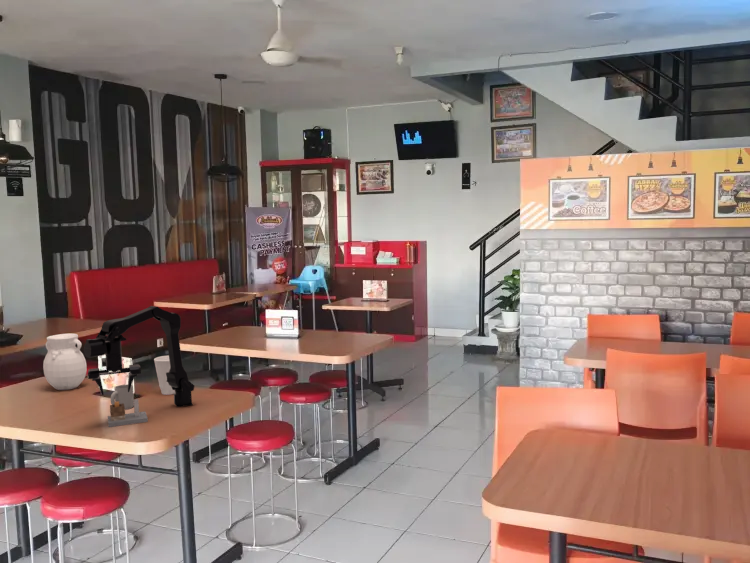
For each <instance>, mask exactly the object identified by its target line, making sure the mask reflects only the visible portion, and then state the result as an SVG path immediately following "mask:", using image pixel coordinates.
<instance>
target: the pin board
mask: <svg viewBox="0 0 750 563" xmlns="http://www.w3.org/2000/svg"><path fill="white" fill-rule="evenodd" d="M139 403H140V402H139V398H134V407H133V410H134V412H129V413H125V419H123V420H116V421H111V415H108V416H107V424H108V425H107V426H108V428H110V427H111V428H112V427H119V426H126V425H134V424H139V423H140V424H142V423H148V420H149V419H148V416H147V412H146V411H140V406H139V405H140V404H139ZM115 407H119V401H116V402H115Z"/></svg>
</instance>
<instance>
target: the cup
mask: <svg viewBox="0 0 750 563" xmlns="http://www.w3.org/2000/svg"><path fill="white" fill-rule="evenodd" d="M134 399H135V397H134V385H133V384H131V388H130V391H129V392H128V384H121V385H117V386H114V391H113V392H112V393H111V395H110V405H115V402H116V401H119V404H122V403H124V406H125V411H126V410H130V409H132V408H133V409H134Z"/></svg>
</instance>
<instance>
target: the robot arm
mask: <svg viewBox="0 0 750 563" xmlns="http://www.w3.org/2000/svg"><path fill="white" fill-rule="evenodd" d="M152 318H153V319H155V320H157V321H159V324H160V326H161V329H162V331H163V332H164V334H165V335H166V343H167V350H168V356H169V360H170V371H169V372H167V373H166V376H167V382H168V383H169V385H170V386H171V387H172V389H173V390H175V394H173V404H174V405H175V407H176V408H181V407H188V406H189V407H190V406H193V405H194V404H193V402H192V401H193V400H192V398H193V397H192V392H193V391H194V390H195V385H194V383H193V382H191V381H189V376H188V373H187V371H186V370H185V368H184V367H183V360H182V351H181V344H180V337H179V335H180V334H179V332H180V329H181V328H182V327H181V326H182V324H181V323H182V319H181V316H180V315H179V314H178V313H176V312H171V311H169V310H168V311H167V310H164V309H162V308H161V307H159V306H157V305H155V306H154V305H150V306H148V307H147V308H144V309H142V310H139V311H137V312H134V313H132V314H130V315H127V316H124V317H121V318H114V319H109V320H106V321H104V322H103V323H102V326H101V329H100V330H99V333H98V334H97V335H96V336H95V337H96V338H93V339H91V338H87V339H85V343H84V347H83V355H84V357H86V358H87V359H90V358H94V357H95V358H96V357H101V356H104V355H105V357H102V358H101V367H102V368H103V367H104V368H105V369H100V368H99V367H98V368H89V369H88V370H87V377H88V380H91V381H93V382H95V383H96V385H97V387H98V389H99V390H100V393H101V395H102V396H104V389H103V383H102V379H101V376H106V375H107V376H108V375H114V374H125V373H128V378H127V385H128V392H129V391H130V388H131V385H133V382H134V379H135V377H138V375H139V374H142V368H141V365H140V364H139V363H136V364H129V365H128V367H123V357H122V356H123V355H122V342H123V341H125V342H126V341H127V338H125V336H124V335H123V334H124V333H126V331H128V330H129V329H130V328H131V327H134V326H137V325H140V324H141V323H143V322H146V321H149V320H151V319H152Z"/></svg>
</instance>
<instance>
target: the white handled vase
mask: <svg viewBox="0 0 750 563" xmlns="http://www.w3.org/2000/svg"><path fill="white" fill-rule="evenodd" d="M76 345H77V346H76ZM82 345H83V344H82V342H81V341H80V340H79V335H78V334H77V333H71V332H70V333H61V334H54V335H49V336H47V337H46V342H45V349H46V350H47V353H46V354H45V357H44V359H43V365H42V367H43V368H42V369H43V375H44V378H45V379H46V381H47V383H48V384H50V386H51V387H53V388H54V389H55V390H57V391H67V390H72V389H77V388H78V387H79V386H80V384H82V383H83V381H84V379H85V378H86V376H87V372H88V370H87V367H88V366H87V365H88V364H87V360H86V358H85V357H86V356H85V354H84V353H83V352H82V351H81V348H82Z"/></svg>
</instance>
